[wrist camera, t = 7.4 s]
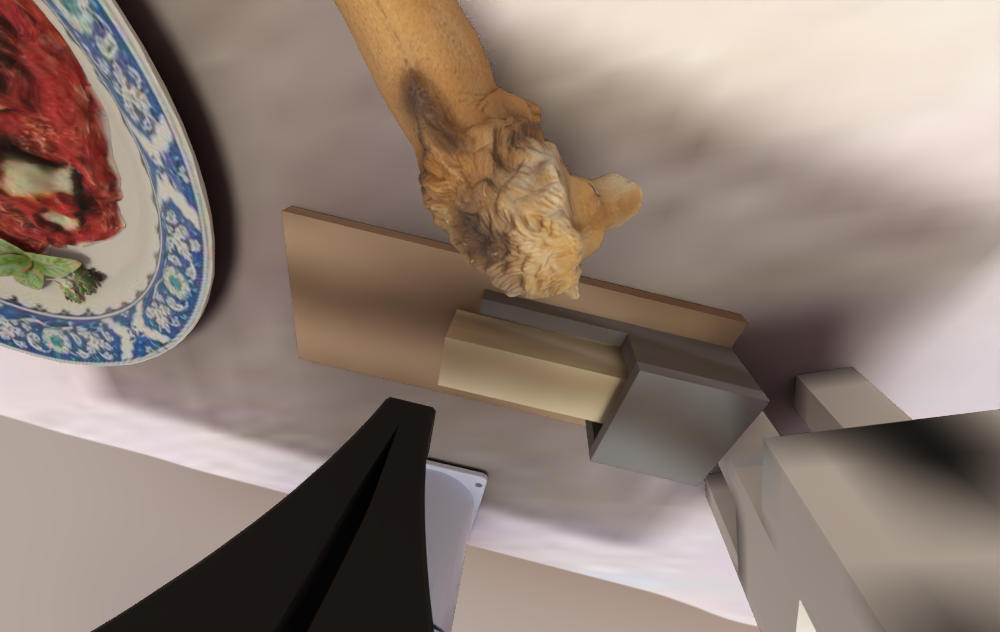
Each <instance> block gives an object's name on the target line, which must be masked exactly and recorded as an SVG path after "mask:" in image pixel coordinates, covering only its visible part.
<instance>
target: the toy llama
mask: <svg viewBox="0 0 1000 632" xmlns="http://www.w3.org/2000/svg"><path fill="white" fill-rule="evenodd" d="M794 409H795V410H796V412H797V413H798V414H799V416H800V417H801V418H802V419H803V421H804V422H805V423H806V424H807V426H808V427H809V428H810V429H811V431H812V432H810V433H802V434H794V435H786V436H780V435H779V434H778V432H777V431H776V429H775V428H774V426H773V425H772V423H771V422H770V421H769V419H768V418H767V416H766V415H765V413H764V412H763V411H762V412H761V413H760V414H759V415H758V417H757V418H756V419H755V420H754V421H753V422H752V424H751V425H750V426H749V427H748V428H747V429H746V431H745V432H744V433H743V434H742V435H741V436H740V438H739V439H738V440H737V441H736V442H735V443H734V445H733V446H732V447H731V448H730V449H729V450H728V452H727V453H726V454H725V455H724V456H723V457H722V459H721V460H720V461H719V462H718V465H719V467H720V469H721V471H722V472H717V473H709V474H708V475H707V476H706V477H705V478H704V480H705V490H706V497H707V500H708V502H709V505H710V507H711V510H712V512H713V515H714V517H715V520H716V522H717V525H718V527H719V530H720V532H721V535H722V537H723V540H724V542H725V545H726V547H727V550H728V552H729V555H730V557H731V560H732V562H733V565H734V567H735V570H736V572H737V575H738V577H739V580H740V582H741V585H742V587H743V590H744V592H745V595H746V597H747V600H748V602H749V605H750V607H751V610H752V612H753V615H754V617H755V620H756V622H757V625H758V627H759V630H760V632H1000V409H998V410H990V411H982V412H974V413H965V414H957V415H949V416H941V417H933V418H925V419H916V420H912V419H911V418H910V417H909V416H908V415H907V414H905V413H904V412H903V411H902V410H901V409H900V408H899V407H897V406H896V405H895V404H894V403H893V402H892V401H891V400H890V399H888V398H887V397H886V396H885V395H884V394H883V393H882V392H880V391H879V390H878V389H877V388H876V387H875V386H874V385H873V384H871V383H870V382H869V381H868V380H867V379H866V378H865V377H863V376H862V375H861V374H860V373H859V372H858V371H857V370H856V369H854V368H853V367H846V368H839V369H833V370H827V371H821V372H814V373H808V374H802V375H796V387H795V401H794Z"/></svg>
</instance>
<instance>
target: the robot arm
mask: <svg viewBox="0 0 1000 632" xmlns="http://www.w3.org/2000/svg"><path fill="white" fill-rule="evenodd" d="M435 413H436V411H435V410H434V408H433V407H429V406H425V405H421V404H417V403H413V402H408V401H404V400H400V399H396V398H392V397H390V398H388V399H386V400H385V401H384V402H383V404H382V405H381V406H380V407H379V408H378V409H377V411H376V412H375V413H374V414H373V415H372V416H371V417H370V418H369V420H368V421H367V422H366V423H365V424H364V425H363V426H362V427H361V428H360V429H359V430H358V431H357V432H356V433H355V434H354V435H353V436H352V437H351V438H350V439H349V440H348V441H347V442H346V443H345V444H344V445H343V446H342V447H341V448H340V449H339V450H338V451H337V452H336V453H335V454H334V455H333V456H332V457H331V458H330V459H328V460H327V461H326V462H325V463H324V464H323V465H322V466H321V467H320V468H319V469H317V470H316V471H315V472H314V473H313V474H312V475H311V476H309V477H308V478H307V479H306V480H305V481H304V482H303V483H302V484H300V485H299V486H298V487H297V488H296V489H295V490H293V491H292V492H291V493H290V494H289V495H287V496H286V497H285V498H284V499H283V500H281V501H280V502H279V503H278V504H276V505H275V506H274V507H273V508H271V509H270V510H269V511H268V512H266V513H265V514H264V515H263V516H261V517H260V518H259V519H257V520H256V521H255V522H254V523H252V524H251V525H250V526H248V527H247V528H246V529H245V530H243V531H241V532H240V533H239V534H237V535H236V536H235V537H233V538H232V539H231V540H229V541H228V542H227V543H225V544H224V545H222V546H221V547H220V548H218V549H217V550H215V551H214V552H213V553H211V554H210V555H208V556H207V557H206V558H204V559H203V560H201V561H200V562H199V563H197V564H195V565H194V566H193V567H191V568H190V569H188V570H187V571H185V572H183V573H182V574H180V575H179V576H178V577H176V578H174V579H173V580H171V581H170V582H168V583H167V584H165V585H164V586H162V587H161V588H159V589H158V590H156V591H155V592H153V593H152V594H150V595H149V596H147V597H146V598H144V599H143V600H141V601H140V602H138V603H137V604H135V605H133V606H132V607H130V608H129V609H127V610H126V611H124V612H123V613H121V614H119V615H118V616H116V617H115V618H113V619H111V620H109V621H108V622H106V623H105V624H103V625H102V626H100V627H98V628H96V629H95V630H93V631H91V632H451V630H452V625H453V619H454V613H455V608H456V602H457V596H458V591H459V585H460V580H461V574H462V569H463V563H464V557H465V552H466V546H467V541H468V540H469V536H470V533H471V530H472V527H473V524H474V521H475V518H476V515H477V511H478V508H479V505H480V502H481V499H482V496H483V493H484V490H485V486H486V483H487V475H486V474H484V473H481V472H477V471H472V470H468V469H464V468H460V467H455V466H451V465H447V464H442V463H438V462H434V461H429V460H427V456H428V453H429V448H430V442H431V436H432V431H433V425H434V419H435Z"/></svg>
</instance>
